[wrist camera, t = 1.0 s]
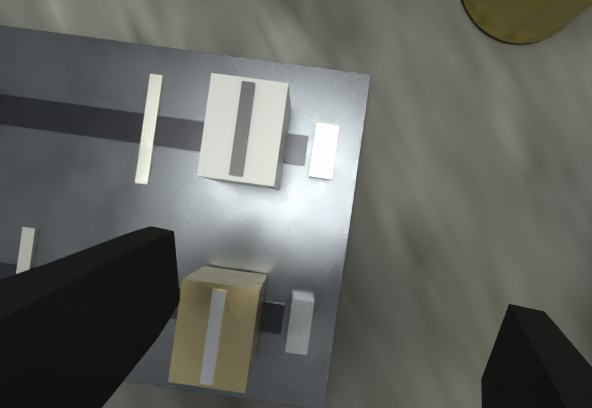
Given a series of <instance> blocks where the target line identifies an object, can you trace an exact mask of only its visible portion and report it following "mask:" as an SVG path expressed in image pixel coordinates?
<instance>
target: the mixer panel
mask: <svg viewBox="0 0 592 408" xmlns="http://www.w3.org/2000/svg"><path fill="white" fill-rule="evenodd" d="M211 73H216V74H223V75H231V76H238V77H246V78H253V79H261V80H268V81H276V82H283V83H288V84H289V92H290V100H291V109H290V117H289V124H288V131H287V138H286V145H285V152H284V160H283V167H282V174H281V181H280V188H279V190H276V189H269V188H261V187H254V186H247V185H240V184H233V183H225V182H218V181H213V180H210V179H206V178H203V177H199V176H197V171H198V164H199V157H200V150H201V143H202V136H203V129H204V121H205V114H206V107H207V100H208V93H209V86H210V79H211ZM369 81H370V75H369V74H361V73H354V72H346V71H339V70H331V69H324V68H316V67H309V66H301V65H294V64H286V63H279V62H271V61H264V60H256V59H249V58H241V57H234V56H226V55H219V54H211V53H204V52H196V51H189V50H181V49H174V48H166V47H159V46H151V45H144V44H136V43H129V42H121V41H114V40H106V39H99V38H91V37H84V36H76V35H69V34H61V33H54V32H46V31H39V30H31V29H24V28H16V27H9V26H1V25H0V279H3V278H6V277H9V276H12V275H15V274H18V273H20V272H23V271H26V270H29V269H32V268H35V267H38V266H41V265H44V264H46V263H49V262H52V261H55V260H58V259H60V258H63V257H66V256H68V255H71V254H74V253H76V252H79V251H82V250H84V249H87V248H89V247H92V246H95V245H97V244H100V243H103V242H105V241H108V240H111V239H113V238H116V237H119V236H121V235H124V234H127V233H130V232H133V231H136V230H139V229H142V228H146V227H149V226H153V227H158V228H163V229H167V230H172V231H174V235H175V247H176V258H177V269H178V280H179V291H180V293H181V286H182V279H183V278H185V277H186V276H188V275H190V274H191V273H193V272H195V271H196V270H198V269H200V268H201V267H203V266H209V267H216V268H223V269H230V270H237V271H244V272H251V273H258V274H265V275H267V281H266V289H265V296H264V303H263V310H262V317H261V324H260V332H259V339H258V346H257V353H256V360H255V363H254V366H253V370H252V373H251V376H250V379H249V383H248V386H247V389H246V392H245V393H239V392H232V391H226V390H219V389H212V388H205V387H199V386H192V385H185V384H178V383H172V382H168V378H169V371H170V364H171V357H172V350H173V343H174V336H175V328H176V321H177V314H178V307H179V304H178V306H177V307H176V309H175V311H174V313H173V314H172V316H171V318H170V319H169V321H168V323H167V324H166V326H165V327H164V329H163V331H162V332H161V334H160V335H159V337H158V338H157V340H156V341H155V342H154V344H153V345H152V346H151V347H150V349H149V350H148V351H147V352H146V354H145V355H144V356H143V357H142V359H141V360H140V361H139V362H138V364H137V365H136V366H135V367H134V369H133V370H132V371H131V372H130V374H129V375H128V376H127V377H126V379H125V380H124V381H129V382H136V383H143V384H149V385H156V386H163V387H170V388H177V389H183V390H190V391H197V392H204V393H210V394H217V395H224V396H231V397H237V398H244V399H251V400H258V401H264V402H271V403H278V404H285V405H291V406H298V407H305V408H324V405H325V398H326V390H327V383H328V376H329V369H330V362H331V354H332V347H333V340H334V333H335V326H336V318H337V311H338V304H339V297H340V290H341V283H342V275H343V268H344V261H345V254H346V247H347V239H348V232H349V225H350V218H351V211H352V203H353V196H354V189H355V182H356V175H357V168H358V160H359V153H360V146H361V139H362V132H363V124H364V117H365V110H366V103H367V96H368V88H369Z"/></svg>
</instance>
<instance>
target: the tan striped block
mask: <svg viewBox="0 0 592 408" xmlns="http://www.w3.org/2000/svg"><path fill="white" fill-rule="evenodd" d="M266 281H267V275H265V274H258V273H251V272H244V271H237V270H230V269H223V268H216V267H209V266H203V267H201V268H200V269H198V270H196V271H195V272H193V273H191V274H190V275H188V276H186V277H185V278H183V279H182V286H181V293H180V302H179V307H178V314H177V321H176V328H175V336H174V343H173V350H172V357H171V364H170V371H169V378H168V382H172V383H178V384H185V385H192V386H199V387H205V388H212V389H219V390H226V391H232V392H239V393H245V392H246V389H247V386H248V383H249V379H250V376H251V373H252V370H253V366H254V363H255V360H256V353H257V346H258V339H259V332H260V324H261V317H262V310H263V303H264V296H265V289H266Z"/></svg>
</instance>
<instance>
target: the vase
mask: <svg viewBox="0 0 592 408" xmlns="http://www.w3.org/2000/svg"><path fill="white" fill-rule="evenodd" d="M463 2H464V5H465V7H466V9H467V11H468V13H469V14H470V16H471V17H472V19H473V20H474V21H475V23H476V24H477V25H478V26H479V27H480V28H481V29H482V30H483V31H485V32H486V33H488V34H489V35H491V36H493V37H495V38H497V39H499V40H502V41H506V42H510V43H532V42H537V41H540V40H542V39H545V38H547V37H549V36H551V35H553V34H555V33H557V32H559V31H561V30H562V29H563V28H564V27H565V26H566V25H567V24H568V23H569V22H570V21H571V20H573V19H574V18H575V17H576V16H578V15H579V14H580V13H582V12H583V11H584V10H586V9H587V8H588V7H590V6H591V5H592V0H463Z"/></svg>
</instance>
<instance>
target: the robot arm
mask: <svg viewBox="0 0 592 408" xmlns="http://www.w3.org/2000/svg"><path fill="white" fill-rule="evenodd" d="M179 302H180V291H179V280H178V269H177V258H176V247H175V235H174V231H172V230H167V229H163V228H158V227H153V226H149V227H146V228H142V229H139V230H136V231H133V232H130V233H127V234H124V235H121V236H119V237H116V238H113V239H111V240H108V241H105V242H103V243H100V244H97V245H95V246H92V247H89V248H87V249H84V250H82V251H79V252H76V253H74V254H71V255H68V256H66V257H63V258H60V259H58V260H55V261H52V262H49V263H46V264H44V265H41V266H38V267H35V268H32V269H29V270H26V271H23V272H20V273H18V274H15V275H12V276H9V277H6V278H3V279H0V408H102V407H103V406H104V404H105V403H106V402H107V401H108V400H109V398H110V397H111V396H112V395H113V393H114V392H115V391H116V390H117V388H118V387H119V386H120V385H121V383H122V382H123V381H124V380H125V379H126V377H127V376H128V375H129V374H130V372H131V371H132V370H133V369H134V367H135V366H136V365H137V364H138V362H139V361H140V360H141V359H142V357H143V356H144V355H145V354H146V352H147V351H148V350H149V349H150V347H151V346H152V345H153V344H154V342H155V341H156V340H157V338H158V337H159V335H160V334H161V332H162V331H163V329H164V327H165V326H166V324H167V323H168V321H169V319H170V318H171V316H172V314H173V313H174V311H175V309H176V307H177V306H178V304H179ZM481 380H482V408H592V367H591V366H590V364H589V363H588V362H587V361H586V360H585V359H584V357H583V356H582V355H581V354H580V353H579V351H578V350H577V349H576V348H575V347H574V346H573V344H572V343H571V342H570V341H569V340H568V338H567V337H566V336H565V335H564V334H563V332H562V331H561V330H560V329H559V328H558V327H557V325H556V324H555V323H554V322H553V321H552V320H551V319H550V317H549V316H548V315H547V314H546V313H545V312H544V311H539V310H535V309H530V308H526V307H521V306H516V305H512V304H509V306H508V309H507V311H506V314H505V317H504V319H503V322H502V325H501V328H500V330H499V333H498V336H497V338H496V341H495V344H494V346H493V349H492V352H491V355H490V357H489V360H488V363H487V365H486V368H485V371H484V374H483V376H482V379H481Z"/></svg>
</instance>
